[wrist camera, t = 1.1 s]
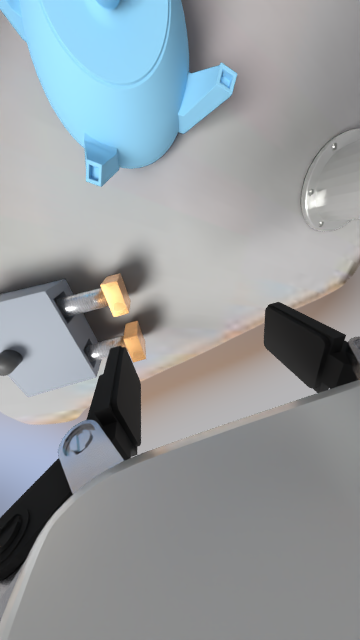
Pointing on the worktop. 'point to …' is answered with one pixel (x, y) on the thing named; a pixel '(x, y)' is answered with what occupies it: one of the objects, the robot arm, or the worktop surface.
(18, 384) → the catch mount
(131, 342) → the knob
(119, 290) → the knob
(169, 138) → the teapot
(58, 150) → the worktop surface
